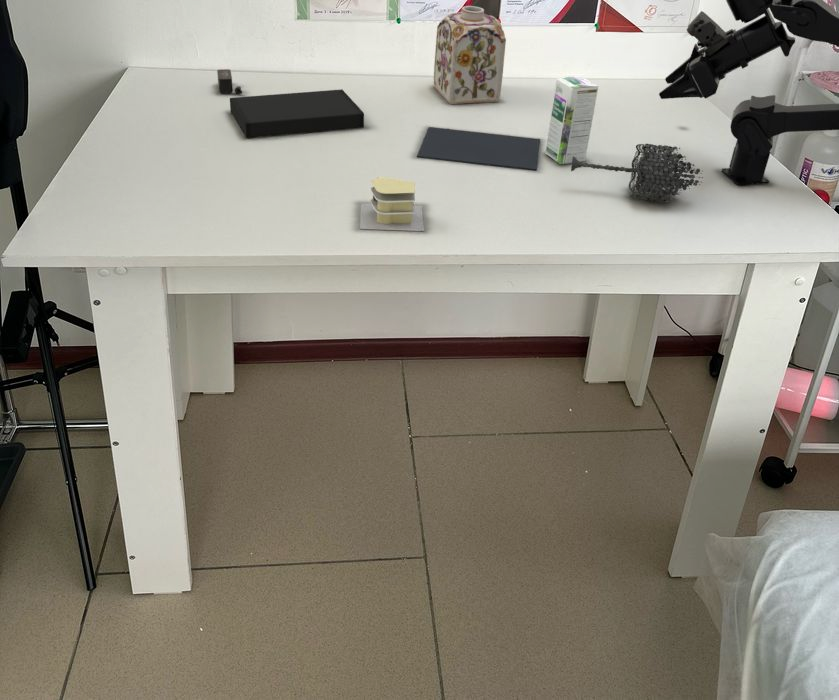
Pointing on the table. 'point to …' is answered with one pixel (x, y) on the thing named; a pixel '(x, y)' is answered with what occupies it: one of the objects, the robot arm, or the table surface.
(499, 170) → the table surface
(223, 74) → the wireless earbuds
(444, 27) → the decorative jar
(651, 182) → the grey chandelier
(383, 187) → the stacked layers on plate
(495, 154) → the mat
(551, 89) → the table surface
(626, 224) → the table surface
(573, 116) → the syrup box
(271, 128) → the external hard drive
